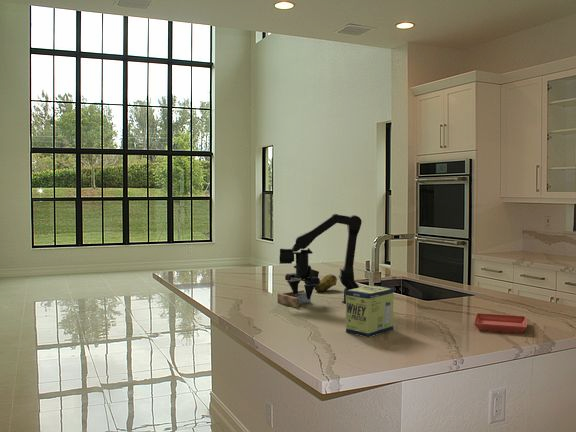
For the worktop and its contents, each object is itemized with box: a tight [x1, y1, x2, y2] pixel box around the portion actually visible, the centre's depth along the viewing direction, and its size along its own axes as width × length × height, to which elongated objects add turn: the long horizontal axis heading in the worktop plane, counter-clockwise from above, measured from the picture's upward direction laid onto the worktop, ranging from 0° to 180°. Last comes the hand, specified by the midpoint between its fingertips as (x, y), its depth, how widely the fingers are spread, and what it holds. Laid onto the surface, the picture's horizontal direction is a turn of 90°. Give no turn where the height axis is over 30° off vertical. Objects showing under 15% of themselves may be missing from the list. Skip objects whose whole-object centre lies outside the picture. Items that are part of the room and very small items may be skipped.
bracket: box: [295, 291, 312, 305], centre depth 263 cm, size 8×6×5 cm
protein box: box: [345, 284, 394, 338], centre depth 211 cm, size 10×16×16 cm
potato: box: [314, 274, 338, 293], centre depth 291 cm, size 8×13×8 cm, turn 109°
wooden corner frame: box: [277, 289, 305, 308], centre depth 262 cm, size 14×15×4 cm
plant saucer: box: [473, 312, 528, 334], centre depth 215 cm, size 18×18×3 cm
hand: (302, 297), depth 261 cm, fingers open, 9 cm apart
